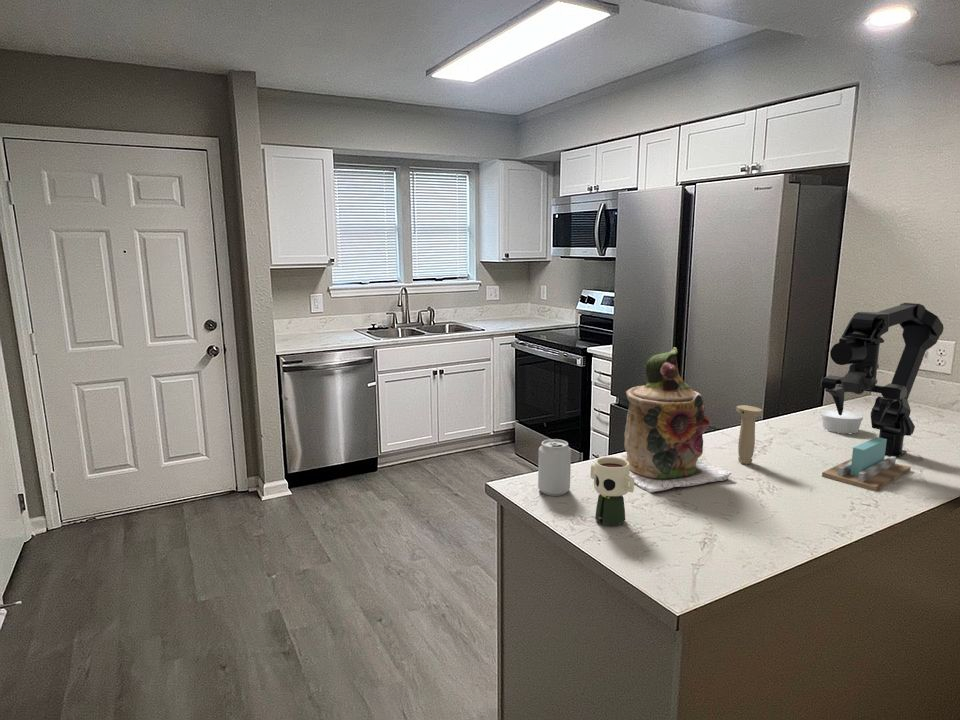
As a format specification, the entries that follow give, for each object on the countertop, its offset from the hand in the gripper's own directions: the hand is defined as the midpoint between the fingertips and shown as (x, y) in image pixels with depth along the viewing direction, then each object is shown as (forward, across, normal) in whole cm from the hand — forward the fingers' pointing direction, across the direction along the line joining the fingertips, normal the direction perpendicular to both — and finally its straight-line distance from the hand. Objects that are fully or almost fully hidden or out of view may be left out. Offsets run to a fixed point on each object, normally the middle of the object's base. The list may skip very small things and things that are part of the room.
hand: (859, 418), depth 161 cm
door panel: (+11, +6, -8) cm, 14 cm away
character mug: (+10, -18, -80) cm, 83 cm away
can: (+10, -37, -77) cm, 86 cm away
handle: (+11, -18, -24) cm, 32 cm away
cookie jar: (+11, -29, -46) cm, 56 cm away
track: (+12, +6, -8) cm, 15 cm away
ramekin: (+13, -14, +28) cm, 34 cm away
